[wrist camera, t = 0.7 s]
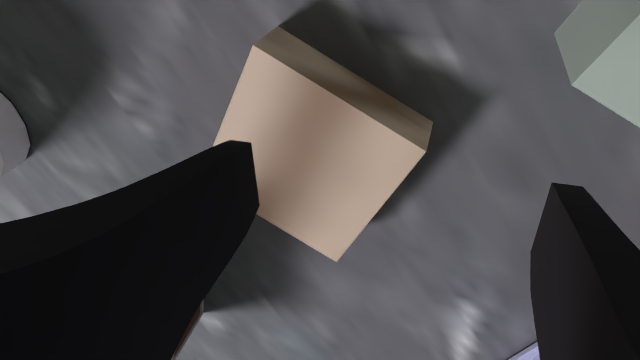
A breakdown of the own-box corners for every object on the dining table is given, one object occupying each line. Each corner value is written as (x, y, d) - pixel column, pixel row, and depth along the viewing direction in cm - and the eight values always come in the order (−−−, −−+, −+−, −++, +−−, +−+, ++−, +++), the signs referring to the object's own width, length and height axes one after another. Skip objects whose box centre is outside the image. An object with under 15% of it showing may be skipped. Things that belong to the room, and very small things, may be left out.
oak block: (434, 118, 21) (426, 151, 18) (350, 225, 26) (336, 262, 23) (281, 23, 20) (253, 45, 18) (226, 150, 25) (199, 180, 23)
